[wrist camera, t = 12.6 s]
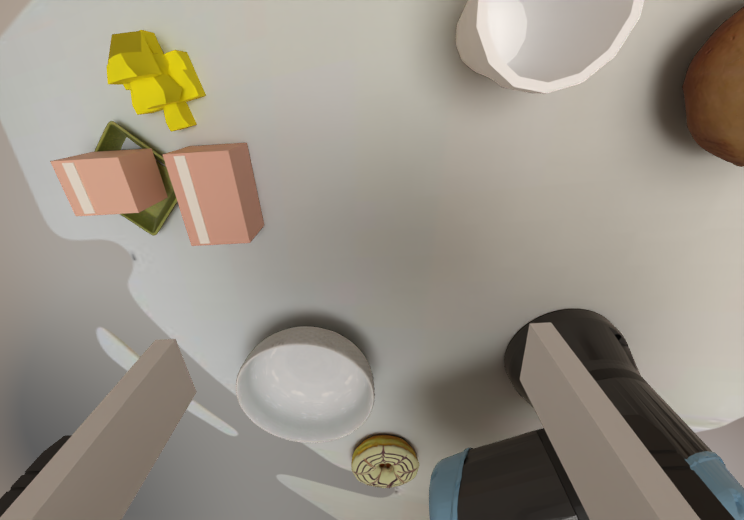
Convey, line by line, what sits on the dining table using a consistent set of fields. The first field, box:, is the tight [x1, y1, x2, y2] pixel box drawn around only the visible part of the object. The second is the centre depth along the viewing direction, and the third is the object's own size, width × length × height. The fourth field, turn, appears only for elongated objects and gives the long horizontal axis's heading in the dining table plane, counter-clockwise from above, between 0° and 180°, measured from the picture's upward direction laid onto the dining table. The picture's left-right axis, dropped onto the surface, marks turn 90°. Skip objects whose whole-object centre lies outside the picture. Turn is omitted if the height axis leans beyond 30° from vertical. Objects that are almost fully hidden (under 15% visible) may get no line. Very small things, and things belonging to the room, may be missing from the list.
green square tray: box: [94, 121, 177, 235], centre depth 36 cm, size 9×9×2 cm
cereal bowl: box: [236, 326, 375, 443], centre depth 45 cm, size 17×17×7 cm
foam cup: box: [456, 0, 644, 93], centre depth 25 cm, size 10×9×13 cm
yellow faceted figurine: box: [107, 30, 206, 131], centre depth 29 cm, size 6×8×8 cm
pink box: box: [50, 148, 168, 216], centre depth 33 cm, size 5×6×5 cm
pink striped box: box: [162, 143, 264, 246], centre depth 35 cm, size 10×6×5 cm, turn 3°
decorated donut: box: [352, 435, 419, 488], centre depth 55 cm, size 10×11×4 cm
